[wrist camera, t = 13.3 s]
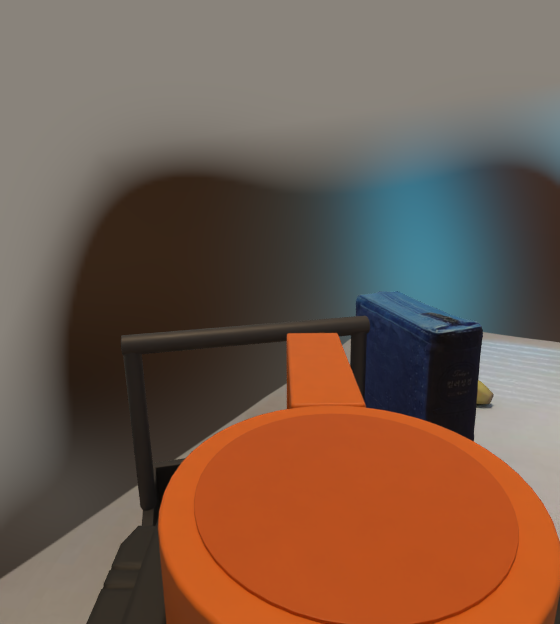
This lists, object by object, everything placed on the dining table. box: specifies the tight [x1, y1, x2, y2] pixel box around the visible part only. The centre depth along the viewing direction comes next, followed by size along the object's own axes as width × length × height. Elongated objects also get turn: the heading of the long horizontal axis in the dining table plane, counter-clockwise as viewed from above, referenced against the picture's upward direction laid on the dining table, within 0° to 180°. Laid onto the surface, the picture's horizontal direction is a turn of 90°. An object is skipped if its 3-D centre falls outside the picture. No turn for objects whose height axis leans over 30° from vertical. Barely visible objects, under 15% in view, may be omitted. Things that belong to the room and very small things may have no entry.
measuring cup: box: [158, 333, 560, 624], centre depth 11 cm, size 10×6×9 cm, turn 0°
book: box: [356, 291, 483, 442], centre depth 41 cm, size 14×5×20 cm, turn 15°
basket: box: [121, 316, 370, 526], centre depth 36 cm, size 18×12×20 cm, turn 103°
